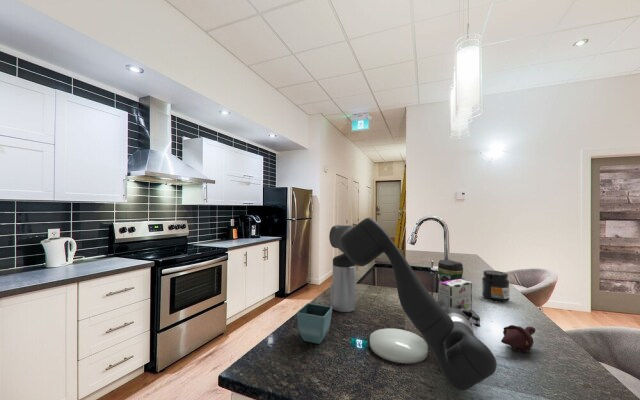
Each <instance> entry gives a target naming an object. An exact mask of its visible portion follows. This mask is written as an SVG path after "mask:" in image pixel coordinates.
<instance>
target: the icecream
mask: <svg viewBox="0 0 640 400" xmlns="http://www.w3.org/2000/svg"><path fill="white" fill-rule="evenodd" d="M535 332H536V329H535V327H533V326H526V327H525V328H523V327H522V326H518V325H514V324H510V325H509V326H504V327H503V331H502V333H503V337H502V338H501V343H502V344H505V345H507V346H509V347H510V348H511V349H512V350H514V351H515V352H516V351H517V352H519V353H520V354H521V353H522V354H524V353H526V352H528V351H530V350H531V348H532V347H533V346H534V338H533V334H535Z"/></svg>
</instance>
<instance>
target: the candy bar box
mask: <svg viewBox="0 0 640 400" xmlns="http://www.w3.org/2000/svg"><path fill="white" fill-rule="evenodd" d="M437 302H439V305H440V306H443V307H444V308H446V309H447V308H456V309H459V305H462V306H464V307H465V308H466V309H467V311H469V310H473V282H472V281H469V280H465V279H463V278H462V279H456V280H450V281H445V282H438V295H437ZM470 324H471V327H472V326H473V324H472V323H470ZM472 328H473V327H472Z"/></svg>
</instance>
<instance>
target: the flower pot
mask: <svg viewBox="0 0 640 400" xmlns="http://www.w3.org/2000/svg"><path fill="white" fill-rule="evenodd" d="M332 315H333V309H332V307H330V306H328V305H322V304H317V303H306V304H304V305H303V306H302V307H301V308H300V309H298V310H297V312H296V318H297V329H298V332H299V334H300V336H301V338H302V340H303V341H305V342H308V343H313V344H318V345H319V344H321V342H322V341H323V340H324V338H325V337H326V336H327V333H328V331H329V329H330V326H331V323H332V322H331V320H332Z"/></svg>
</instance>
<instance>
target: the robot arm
mask: <svg viewBox="0 0 640 400" xmlns="http://www.w3.org/2000/svg"><path fill="white" fill-rule="evenodd" d="M328 235H329V237H328V239H329V244H330V246H331V247H332V248H333V249H338V250H339V251H340V252H342V253H341V254H340V255H336V256H334V257H333V258H332V282H331V284H330V307H332V310H334V311H336V312H341V313H349V312H350V313H351V312H353V311H355V309H356V266H358V267H365V266H367V265H369V264H370V263H372V262H373V261H374V260H375V259H376V258H378V257H379V256H380V255H383V253H384V254H385V255H386V257H387V258H388V260H389V261H390V264H391V266H392V270H393V273H394V277H395V282H396V288H397V289H396V290H397V295H398V300H399V302H400V305H401V307H402V309H403V311H404V313H405V315H406V317H407V318H409V320H410V321H411V323H412V324H413V325H414V327H415V328H416V329H417V330H418V331H419V333H420V334H421V335H422V337H423V339H424V340H425V342H426V343H427V346H429V348H430V350H431V352H432V354H433V356H434V358H435V360H436V362H437V363H436V364H437V365H438V368H439V369H440V371H441V373H442V376H443V378H444V379H445V381H446V382H447V383H448V384H449V385H450V386H451V387H453V389H454V388H455V389H456V390H458V391H461V392H465V391H467V390H470V389H471V388H473V387H474V386H476V385H477V384H480V383H482V381H484V380H486V379H487V378H489V377H491V376H492V375H494V374H495V372H496V370H497V365H498V364H497V360H496V357H495V355H494V353H493V352H492V351H491V350H490V348H489V347H488V346H487V345H486V344H485V343H484V342H482V341H481V340H480V339H479V338H478V337H476V336H475V333H474V329H473V327H471V324H470V323H472V325H474V327H477V328H480V327H481V317H480V316H479V315H478V314H477V313H476V311H475V310H473V309H472V310H469V311H467V309H466V308H465V307H464V306H462V305H459V309H456V308H447V309H446V308H444V307H443V306H440V305H439V302H438V300H436V299H435V298H434V297H433V296H432V294H431V293H430V291H428V289H427V288H426V287H425V286H424V284H423V283H422V282H421V280H420V279H419V278H418V276H417V275H416V273H415V271H414V270H413V268H412V267H411V265H410V263H409V262H408V261H407V259H406V258H405V257H404V255H403V254H402V252H401V251H400V249H399V248H398V246H397V245H396V243H395V242H394V241H393V239H392V238H391V237H390V235H389V234H388V233H387V231H386V230H385V229H384V228H383V226H382V225H380V223H379V222H377V221H376V220H375V219H373V218H372V217H366V218H364V219H363V220H361V221H360V222H358V223H357V224H356V225H340V224H339V225H337V224H336V225H333V226H331V228H330V231H329V234H328Z"/></svg>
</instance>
